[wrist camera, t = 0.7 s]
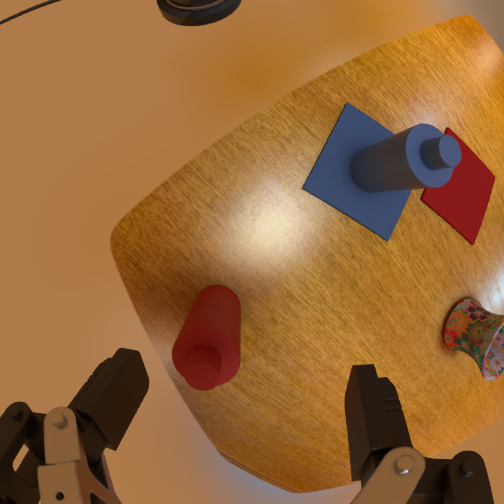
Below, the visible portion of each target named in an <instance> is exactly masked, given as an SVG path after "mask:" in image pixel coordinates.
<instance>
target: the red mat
mask: <svg viewBox="0 0 504 504" xmlns="http://www.w3.org/2000/svg"><path fill="white" fill-rule="evenodd" d="M444 135H450V136H452V137H454V138H455V139H456V141H457V142H458V144H459V146H460V149H461V161H460V163H459V164H458V165H457V166H456V167H454V168H453V173H452V175H451V178H450V179H449V181H448V182H447V183H446V184H445V185H443V186H441V187H438V188H426V189H425V190H424V192H423V194H422V197H421V199H420V200H422V201H423V202H424V203H425V204H426V205H428V206H429V207H430V208H431V209H432V210H434V211H435V212H436V213H437V214H438V215H440V216H441V217H442V218H443V219H444V220H445V221H446V222H448V223H449V224H450V225H451V226H452V227H453V228H454V229H455V230H456V231H458V232H459V233H460V234H461V235H462V236H463V237H464V238H465V239H466V240H467V241H468V242H469V243H470V244H471V245H474V243H475V240H476V237H477V235H478V232H479V229H480V226H481V223H482V221H483V218H484V215H485V212H486V208H487V205H488V202H489V199H490V195H491V192H492V188H493V184H494V181H495V176H494V175H493V174H492V172H491V171H490V170H489V169H488V168H487V167H486V165H485V164H484V163H483V162H482V161H481V160H480V159H479V158H478V157H477V155H476V154H475V153H474V152H473V151H472V150H471V149H470V148H469V147H468V146H467V145H466V144H465V143H464V142H463V141H462V140H461V139H460V138H459V137H458V136H457V135H456V134H455V133H454V132H453V131H452V130H451V129H450V128H449V127H447V128H446V131H445V134H444Z"/></svg>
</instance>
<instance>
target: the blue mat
mask: <svg viewBox="0 0 504 504" xmlns="http://www.w3.org/2000/svg"><path fill="white" fill-rule="evenodd" d="M393 135H394V134H393V133H392V132H390V131H389V130H388V129H386V128H385V127H383V126H382V125H381V124H379V123H378V122H376V121H375V120H373V119H372V118H371V117H369V116H368V115H366V114H365V113H363V112H362V111H360V110H358V109H357V108H355V107H354V106H352V105H351V104H349V103H347V104H346V105H345V107H344V109H343V111H342V113H341V115H340V117H339V119H338V121H337V123H336V124H335V126H334V128H333V130H332V132H331V134H330V136H329V138H328V140H327V142H326V144H325V146H324V148H323V149H322V151H321V153H320V155H319V157H318V159H317V161H316V163H315V165H314V167H313V169H312V170H311V172H310V174H309V176H308V178H307V180H306V182H305V184H304V186H303V188H302V189H303V190H305V191H307V192H309V193H310V194H312V195H314V196H316V197H317V198H319V199H321V200H322V201H324V202H326V203H327V204H329V205H331V206H332V207H334V208H336V209H337V210H339V211H341V212H342V213H344V214H346V215H347V216H349V217H350V218H352V219H354V220H355V221H357V222H358V223H360V224H362V225H363V226H365V227H366V228H368V229H369V230H371V231H372V232H374V233H375V234H377V235H379V236H380V237H382V238H383V239H385V240H386V241H388V240H389V238H390V236H391V234H392V232H393V230H394V228H395V226H396V224H397V221H398V219H399V217H400V215H401V213H402V211H403V208H404V206H405V204H406V202H407V199H408V197H409V195H410V192H411V190H400V191H389V192H378V193H369V192H366V191H364V190H362V189H361V188H359V187H358V186H357V185H356V183H355V182H354V180H353V178H352V175H351V161H352V159H353V157H354V155H355V154H356V153H357V152H358V151H360V150H362V149H364V148H366V147H368V146H371V145H373V144H375V143H377V142H379V141H382V140H384V139H386V138H388V137H391V136H393Z"/></svg>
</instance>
